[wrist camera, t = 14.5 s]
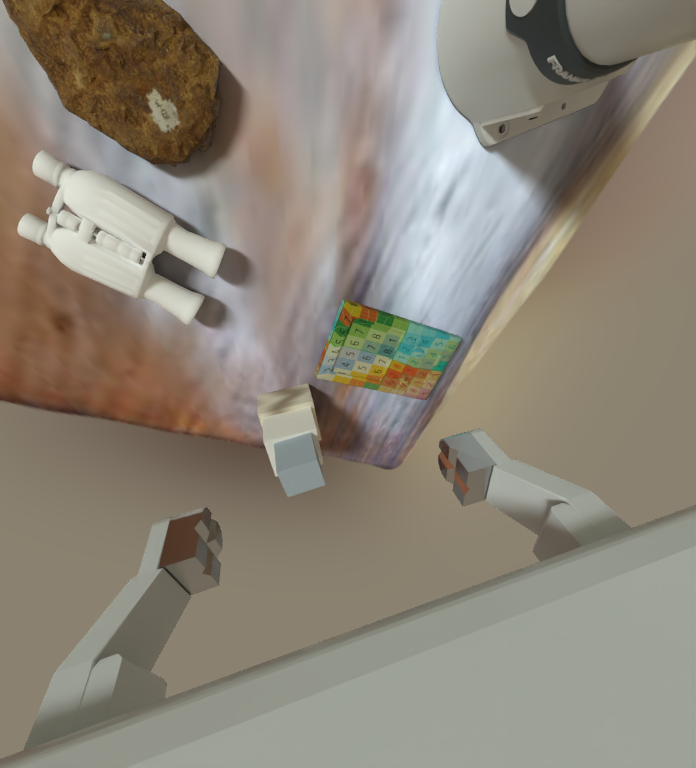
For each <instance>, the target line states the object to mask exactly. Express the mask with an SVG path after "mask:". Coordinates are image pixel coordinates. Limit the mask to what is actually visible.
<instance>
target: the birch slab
mask: <svg viewBox="0 0 696 768" xmlns="http://www.w3.org/2000/svg"><path fill="white" fill-rule="evenodd" d="M306 407H311V411H312V414H313V418H314V422H315V426H316V429H317V434H318V439H319V441H320V440H322V439H321V435H320V430H319V426H318V421H317V417H316V412H315V408H314V403H313V399H312V396H311V392H310V389H309V385H308V384H303V385H299V386H295V387H291V388H287V389H282V390H278V391H274V392H270V393H266V394H262V395H257V409H258V417H259V420H260V422H261V425H262V428H263V421H262V418H264V417H268V416H272V415H276V414H281V413H285V412H289V411H293V410H298V409H302V408H306Z"/></svg>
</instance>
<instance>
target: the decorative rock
mask: <svg viewBox="0 0 696 768" xmlns="http://www.w3.org/2000/svg"><path fill="white" fill-rule="evenodd" d="M3 3H4V5H5V7H6V9H7V12H8V14H9V17H10V18H11V19H12V20H13V22H14V23H15V24H16V25H17V27H18V28H19V31H20V35H21V36H22V38H23V39H24V41H25V42H26V44H27V46H28V47H29V49H30V51H31V52H32V54H33V55H34V57H35V58H36V60H37V61H38V62H39V64H40V65H41V66H42V68H43V69H44V71H45V72H46V73H47V75H48V78H49V80H50V82H51V83H52V84H53V86H54V87H55V89H56V90H57V92H58V95H59V97H60V99H61V101H62V104H63V106H64V107H65V108H66V109H67V110H68V111H69V112H71V113H73V114H75V115H77V116H78V117H80V118H81V119H83V120H85V121H87V122H88V123H89V125H90V126H92V127H94V128H95V129H97V130H99V131H100V132H102V133H104V134H105V135H107V136H108V137H110V138H111V139H114V140H116V141H117V142H118V143H119V144H120V145H121V146H122V147H124V148H125V149H126V150H128V151H130V152H132V153H134V154H136V155H138V156H140V157H142V158H144V159H146V160H147V161H149V162H150V163H152V164H153V165H154V164H171V165H172V166H174V168H175V167H176V165H177V163H187V162H189V157H190V155H191V154H192V153H193V152H194V151H196V150H197V149H200V150H201V151H206V150H207V149H209V148H210V146H211V145H212V144H211V142H210V141H211V130H212V126H214V127H216V124H215V120H216V116H217V115H218V114H219V112H220V107H221V103H222V98H221V95H220V92H219V87H218V76H219V72H220V68H221V64H222V63H221V62H220V60H219V58H218V56H217V55H216V54H215V53H214V52H213V51H212V50H211V48H210V47H209V46H207V45H206V44H205V43H204V42H203V41H202V40H201V39H200V38H199V37H198V36H197V35H196V33H195V32H194V31H193V29H192V28H191V27H190V25H189V24H188V23H187V22H186V21H185V20H184V19H183V18H182V16H181V15H180V14H179V13H178V12H177V11H175V10H174V9H172V8H171V7H169V6H168V5H167V4H166V3H165V2H164V1H162V0H3Z"/></svg>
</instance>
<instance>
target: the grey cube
mask: <svg viewBox="0 0 696 768" xmlns="http://www.w3.org/2000/svg"><path fill="white" fill-rule="evenodd" d="M274 451H275V462H276V473H277V475H278V477H279V479H280V481H281V483H282V485H283V488H284V490H285V492H286V494H287V496H288V497H290V496H293V495H296V494H299V493H302V492H305V491H308V490H311V489H314V488H317V487H320V486H323V485H325V481H324V477H323V474H322V469H321V465H320V461H319V457H318V454H317V451H316V448H315V445H314V442H313V438H312V435H311V432H310V433H307V434H304V435H300V436H297V437H294V438H290V439H287V440H284V441H281V442H277V443H274Z"/></svg>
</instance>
